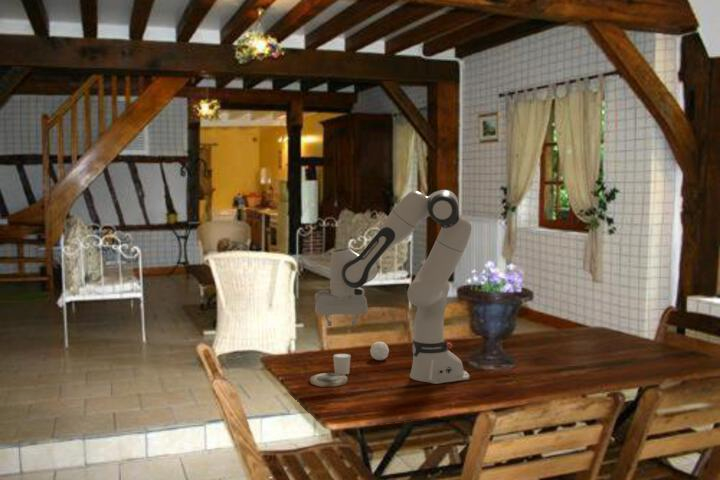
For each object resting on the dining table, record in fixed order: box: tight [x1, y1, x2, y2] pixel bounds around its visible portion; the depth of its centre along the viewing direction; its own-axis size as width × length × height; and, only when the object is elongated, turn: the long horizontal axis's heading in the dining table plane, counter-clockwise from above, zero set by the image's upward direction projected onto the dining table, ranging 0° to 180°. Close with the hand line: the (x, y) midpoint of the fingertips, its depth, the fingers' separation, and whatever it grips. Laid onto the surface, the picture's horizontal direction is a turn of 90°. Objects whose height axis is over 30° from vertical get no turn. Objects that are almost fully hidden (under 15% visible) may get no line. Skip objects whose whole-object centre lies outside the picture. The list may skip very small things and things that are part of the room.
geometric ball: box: [369, 341, 390, 361], centre depth 298 cm, size 8×8×8 cm
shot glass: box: [332, 353, 351, 376], centre depth 279 cm, size 7×7×7 cm
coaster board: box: [309, 372, 348, 388], centre depth 268 cm, size 14×14×1 cm
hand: (341, 325), depth 277 cm, fingers open, 8 cm apart
